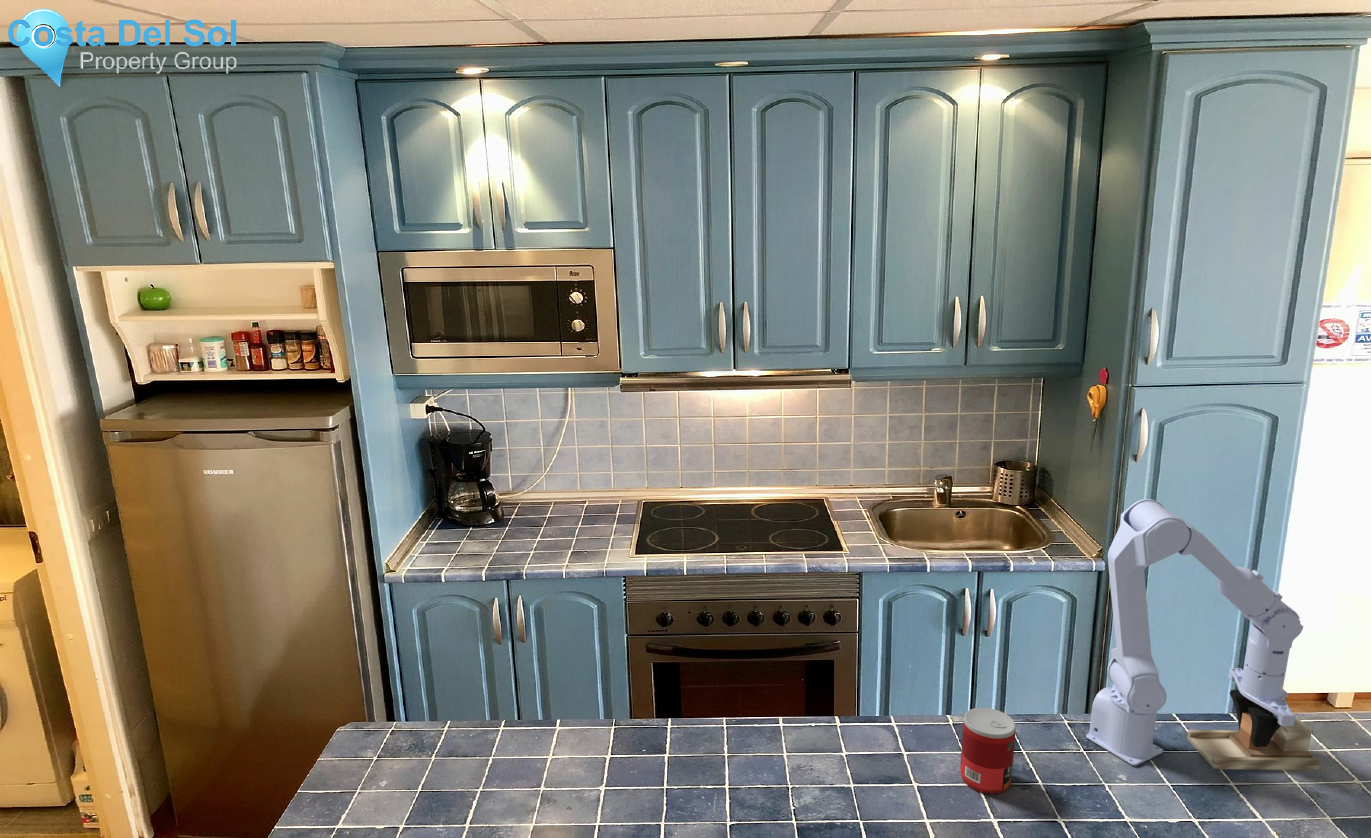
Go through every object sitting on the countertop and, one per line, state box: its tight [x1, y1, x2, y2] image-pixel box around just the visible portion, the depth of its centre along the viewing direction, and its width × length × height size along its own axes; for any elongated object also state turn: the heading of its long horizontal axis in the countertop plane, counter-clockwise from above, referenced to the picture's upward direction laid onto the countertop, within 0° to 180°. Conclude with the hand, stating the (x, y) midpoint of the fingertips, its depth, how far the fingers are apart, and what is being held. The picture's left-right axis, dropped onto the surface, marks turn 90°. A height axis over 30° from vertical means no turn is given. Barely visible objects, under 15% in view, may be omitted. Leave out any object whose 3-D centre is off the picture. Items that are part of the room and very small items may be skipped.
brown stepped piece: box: [1229, 713, 1313, 758], centre depth 144 cm, size 10×6×6 cm, turn 88°
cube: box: [1271, 715, 1313, 751], centre depth 144 cm, size 4×4×4 cm
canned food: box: [959, 707, 1017, 795], centre depth 138 cm, size 8×8×11 cm
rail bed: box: [1186, 729, 1321, 771], centre depth 145 cm, size 17×8×2 cm, turn 88°
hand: (1253, 739), depth 145 cm, fingers open, 3 cm apart
